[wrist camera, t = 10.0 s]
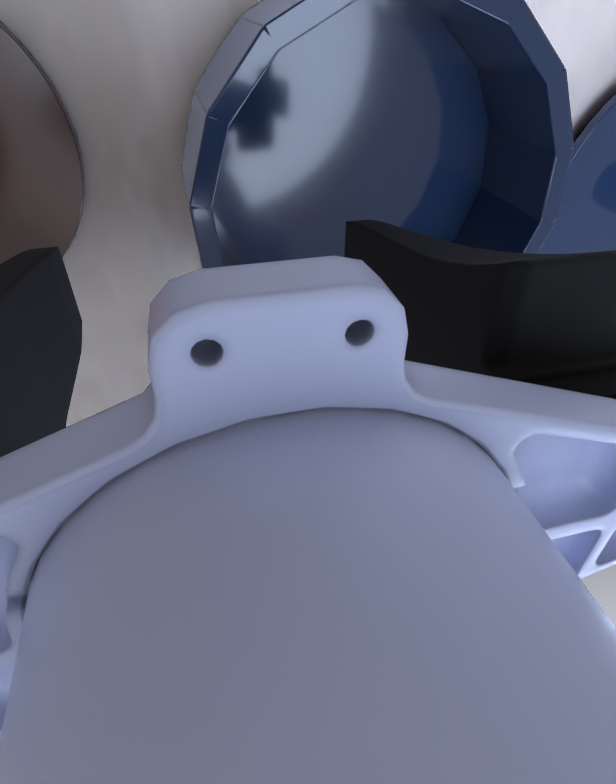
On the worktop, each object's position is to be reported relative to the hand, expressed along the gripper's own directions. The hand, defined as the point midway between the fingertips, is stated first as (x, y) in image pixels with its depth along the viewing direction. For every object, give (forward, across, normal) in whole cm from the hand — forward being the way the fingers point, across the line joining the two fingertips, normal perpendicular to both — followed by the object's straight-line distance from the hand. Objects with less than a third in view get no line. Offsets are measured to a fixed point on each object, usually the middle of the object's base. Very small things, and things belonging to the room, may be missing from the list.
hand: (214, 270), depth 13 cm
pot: (+9, -6, 0) cm, 11 cm away
